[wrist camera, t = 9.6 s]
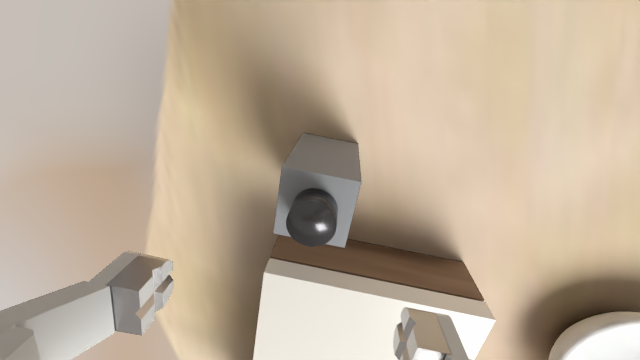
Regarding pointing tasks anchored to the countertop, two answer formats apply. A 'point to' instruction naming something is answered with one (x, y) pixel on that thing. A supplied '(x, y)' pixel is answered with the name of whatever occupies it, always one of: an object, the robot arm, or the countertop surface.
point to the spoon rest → (600, 338)
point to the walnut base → (383, 265)
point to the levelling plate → (349, 315)
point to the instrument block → (318, 191)
